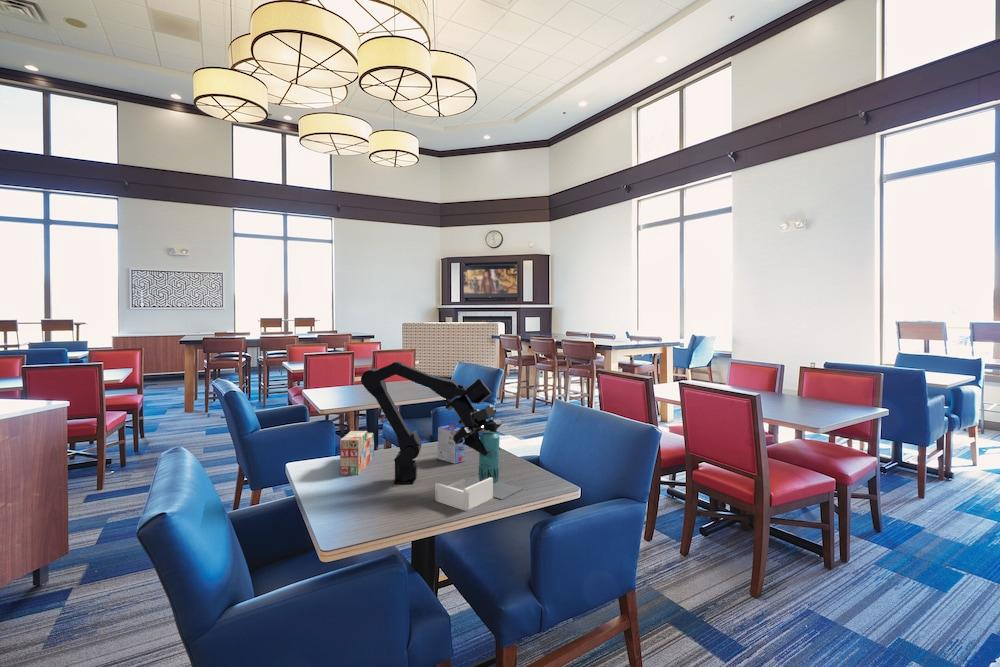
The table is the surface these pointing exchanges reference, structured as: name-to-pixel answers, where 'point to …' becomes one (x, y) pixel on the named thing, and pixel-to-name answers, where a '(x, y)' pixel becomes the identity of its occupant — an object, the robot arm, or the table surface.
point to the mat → (497, 488)
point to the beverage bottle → (489, 454)
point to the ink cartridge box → (450, 444)
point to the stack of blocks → (356, 452)
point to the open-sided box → (464, 494)
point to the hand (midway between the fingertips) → (492, 452)
